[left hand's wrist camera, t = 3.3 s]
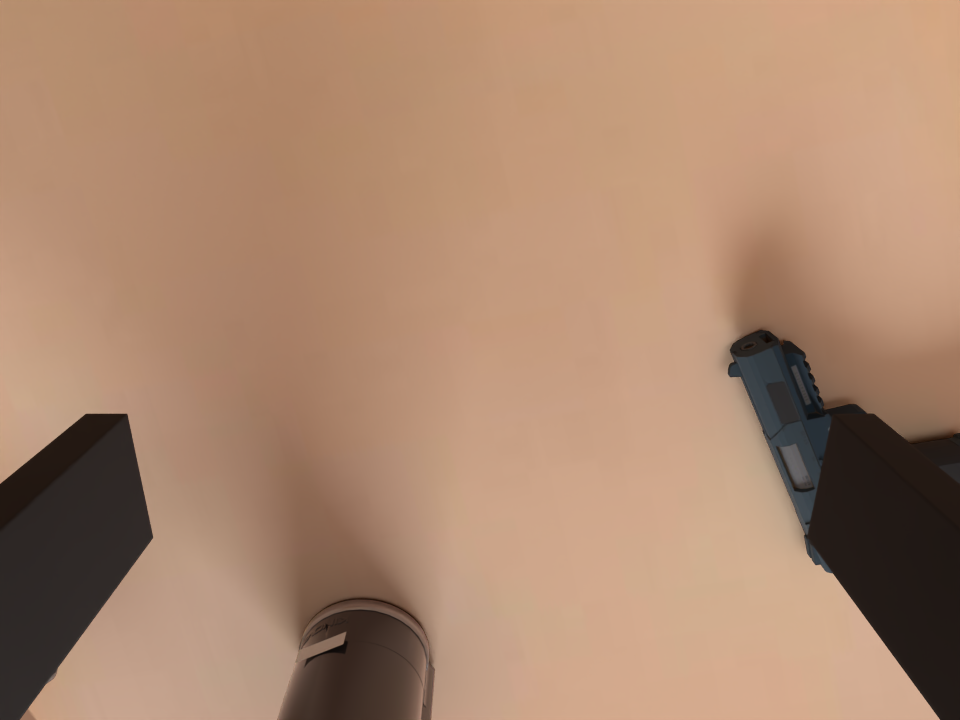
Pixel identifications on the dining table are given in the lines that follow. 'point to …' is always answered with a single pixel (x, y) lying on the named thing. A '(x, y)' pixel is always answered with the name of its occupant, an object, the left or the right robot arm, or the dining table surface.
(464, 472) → the dining table surface
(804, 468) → the handgun
